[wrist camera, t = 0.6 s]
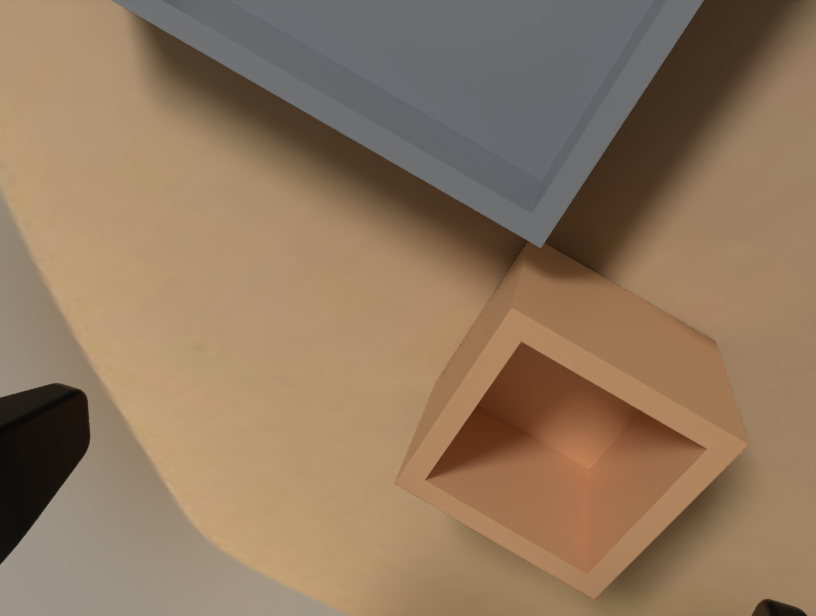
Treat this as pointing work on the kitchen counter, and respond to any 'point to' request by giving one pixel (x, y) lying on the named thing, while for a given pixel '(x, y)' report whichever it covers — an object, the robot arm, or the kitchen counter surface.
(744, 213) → the kitchen counter surface
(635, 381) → the small crate
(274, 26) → the grey square tray
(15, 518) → the robot arm
